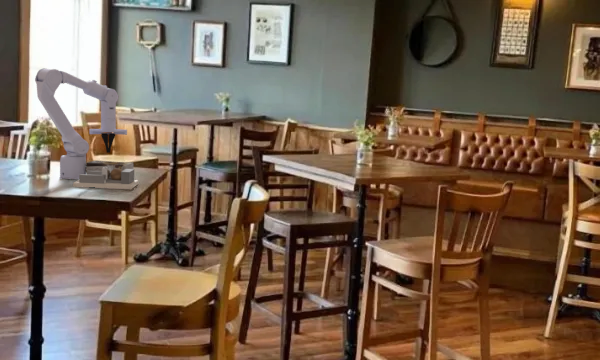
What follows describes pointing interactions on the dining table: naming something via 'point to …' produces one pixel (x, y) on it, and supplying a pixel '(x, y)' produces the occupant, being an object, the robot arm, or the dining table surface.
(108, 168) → the block
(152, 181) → the dining table surface
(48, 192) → the dining table surface
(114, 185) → the press board
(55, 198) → the dining table surface
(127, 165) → the coffee box
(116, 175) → the tan brown ball
